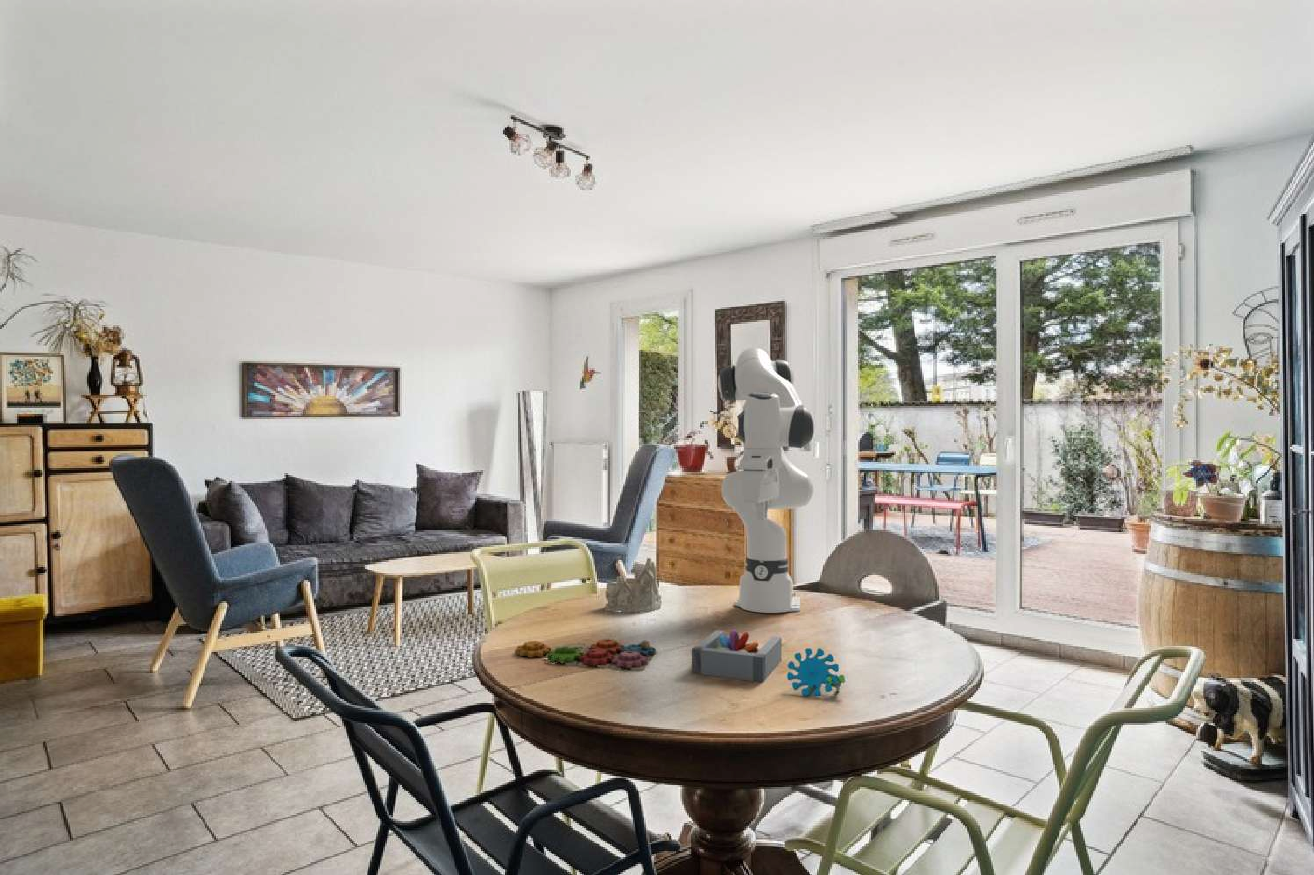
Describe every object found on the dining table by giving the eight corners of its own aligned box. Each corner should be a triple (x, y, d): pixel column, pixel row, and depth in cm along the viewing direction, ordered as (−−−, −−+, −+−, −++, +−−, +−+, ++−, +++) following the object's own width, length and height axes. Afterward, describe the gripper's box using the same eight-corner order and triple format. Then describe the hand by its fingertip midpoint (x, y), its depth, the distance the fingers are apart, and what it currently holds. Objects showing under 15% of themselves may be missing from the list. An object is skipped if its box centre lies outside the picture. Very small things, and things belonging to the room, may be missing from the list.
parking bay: (715, 652, 174) (715, 630, 174) (781, 660, 168) (781, 637, 168) (691, 672, 159) (691, 648, 159) (762, 682, 153) (762, 657, 153)
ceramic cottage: (666, 601, 226) (663, 550, 225) (656, 616, 210) (652, 561, 209) (614, 602, 229) (611, 551, 228) (600, 617, 213) (597, 563, 212)
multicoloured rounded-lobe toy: (753, 672, 160) (753, 637, 160) (709, 667, 163) (709, 632, 163) (764, 661, 167) (764, 628, 167) (721, 656, 171) (721, 623, 171)
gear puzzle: (503, 663, 166) (503, 644, 166) (531, 643, 182) (531, 626, 182) (643, 674, 159) (643, 654, 159) (660, 652, 175) (660, 634, 175)
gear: (778, 684, 147) (796, 639, 153) (783, 698, 151) (801, 655, 156) (834, 702, 141) (851, 656, 147) (838, 717, 145) (854, 671, 151)
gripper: (760, 459, 192) (760, 514, 192) (737, 462, 173) (736, 523, 173) (785, 459, 189) (785, 516, 189) (764, 462, 170) (764, 525, 171)
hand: (762, 519), depth 181 cm, fingers closed
